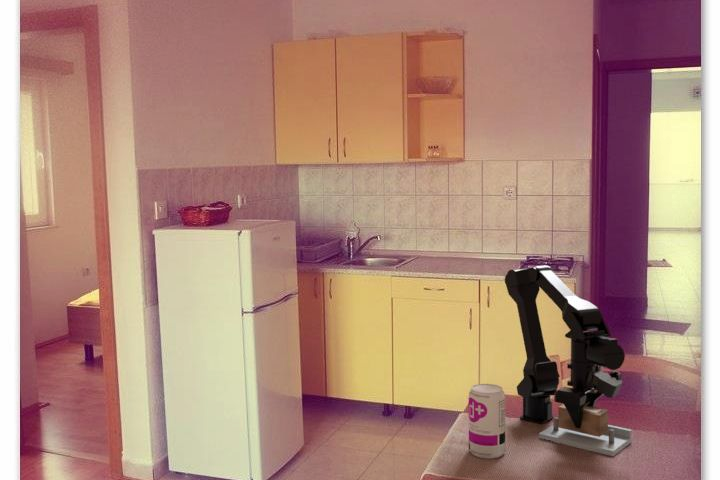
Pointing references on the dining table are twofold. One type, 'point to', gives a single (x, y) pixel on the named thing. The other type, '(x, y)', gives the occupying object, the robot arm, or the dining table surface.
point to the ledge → (590, 438)
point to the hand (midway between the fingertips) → (582, 424)
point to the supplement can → (487, 421)
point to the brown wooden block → (585, 420)
